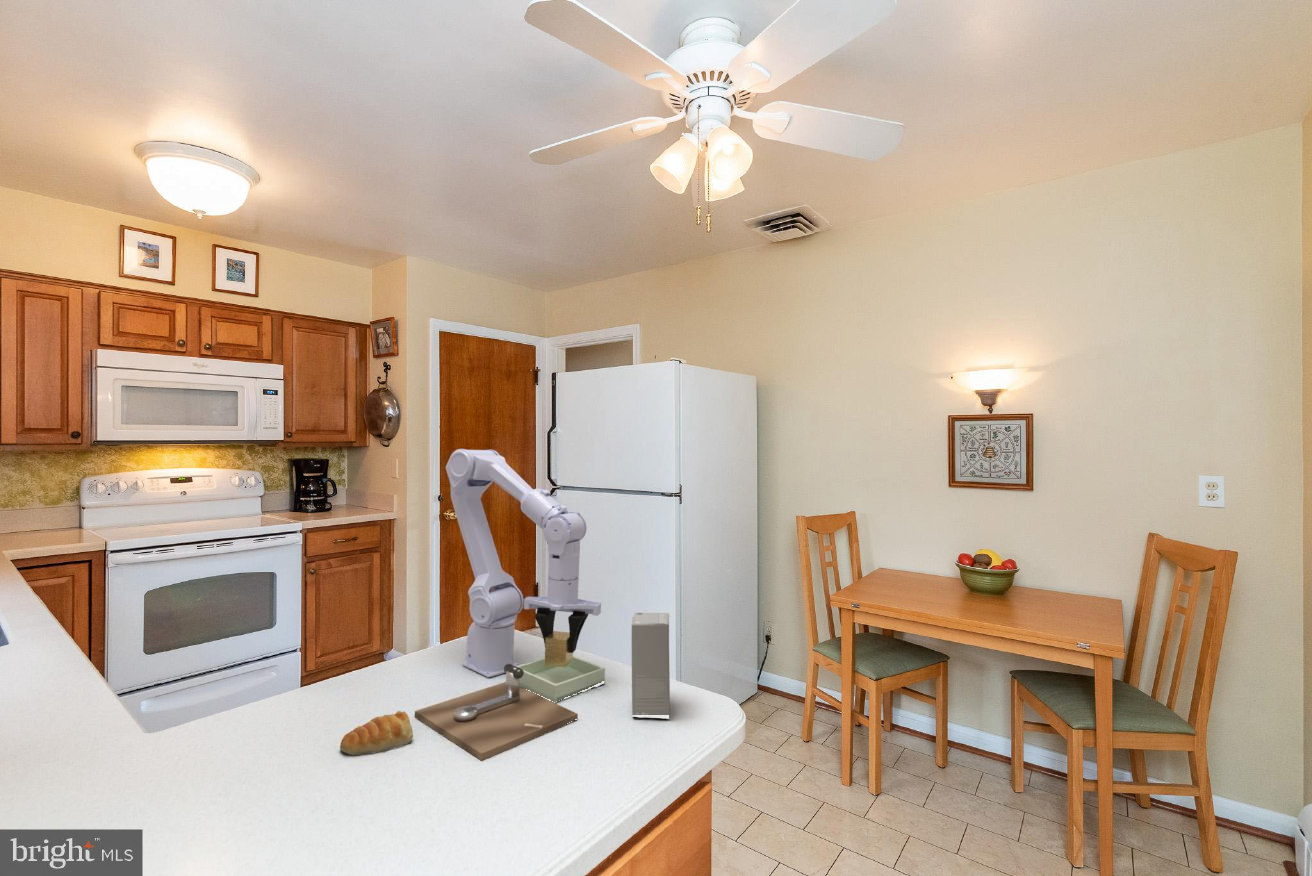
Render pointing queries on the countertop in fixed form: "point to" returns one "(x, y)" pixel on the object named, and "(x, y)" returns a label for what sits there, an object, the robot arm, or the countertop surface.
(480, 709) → the crank
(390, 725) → the pastry
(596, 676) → the tray
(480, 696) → the crank plate
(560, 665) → the block
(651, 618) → the skincare box
